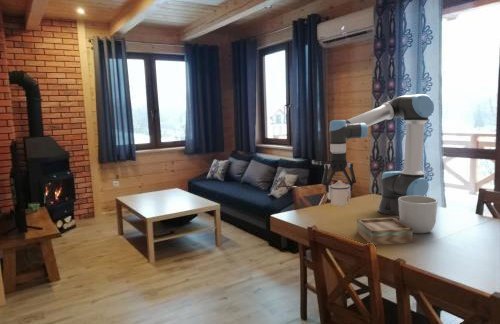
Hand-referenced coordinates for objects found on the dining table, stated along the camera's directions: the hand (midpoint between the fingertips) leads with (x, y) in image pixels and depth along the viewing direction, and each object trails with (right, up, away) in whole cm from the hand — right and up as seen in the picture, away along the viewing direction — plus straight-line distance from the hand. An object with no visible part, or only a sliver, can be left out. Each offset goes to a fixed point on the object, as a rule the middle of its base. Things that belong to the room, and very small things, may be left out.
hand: (339, 198), depth 183 cm
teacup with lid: (0, -3, 0) cm, 3 cm away
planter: (+36, -15, -5) cm, 39 cm away
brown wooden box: (+17, -17, -12) cm, 27 cm away
